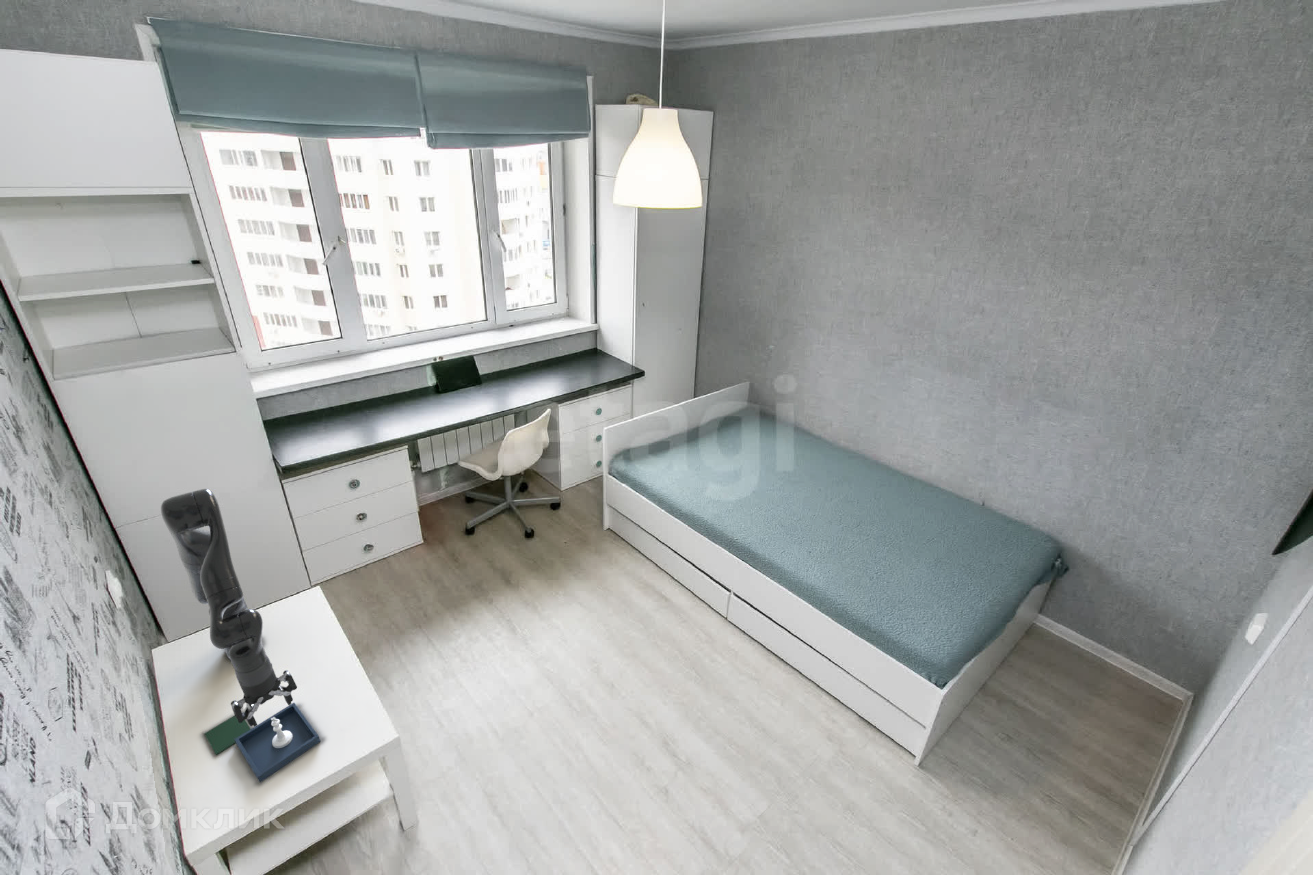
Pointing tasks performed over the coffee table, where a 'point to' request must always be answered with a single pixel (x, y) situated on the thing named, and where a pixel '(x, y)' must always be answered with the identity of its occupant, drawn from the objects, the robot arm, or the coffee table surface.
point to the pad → (226, 734)
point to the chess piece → (280, 735)
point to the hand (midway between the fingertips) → (271, 713)
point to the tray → (264, 754)
